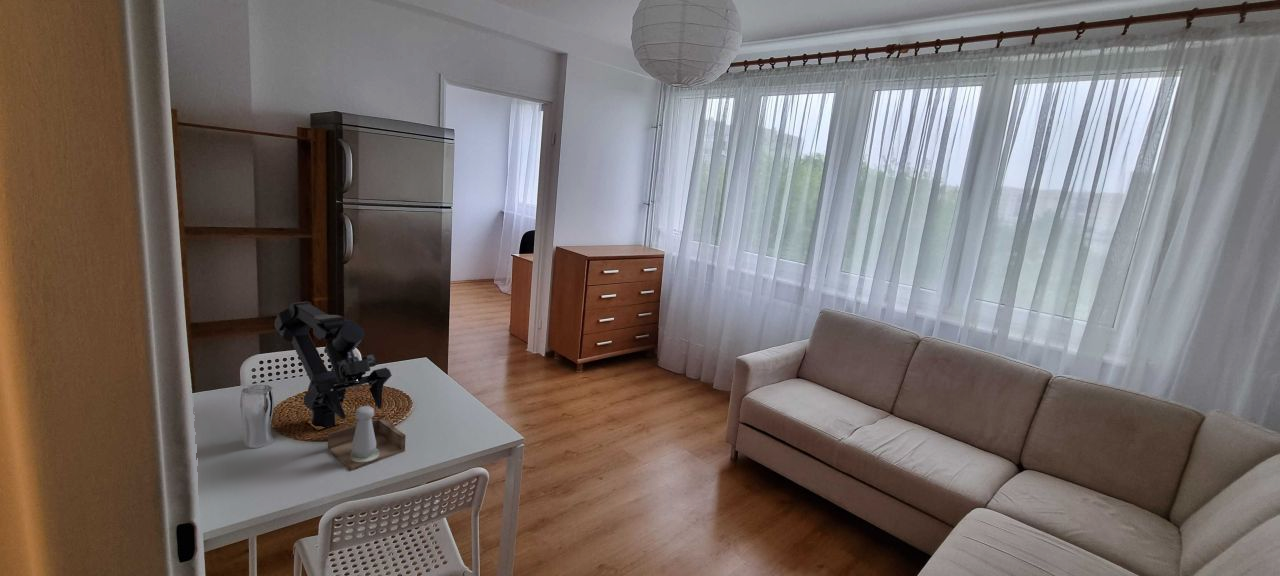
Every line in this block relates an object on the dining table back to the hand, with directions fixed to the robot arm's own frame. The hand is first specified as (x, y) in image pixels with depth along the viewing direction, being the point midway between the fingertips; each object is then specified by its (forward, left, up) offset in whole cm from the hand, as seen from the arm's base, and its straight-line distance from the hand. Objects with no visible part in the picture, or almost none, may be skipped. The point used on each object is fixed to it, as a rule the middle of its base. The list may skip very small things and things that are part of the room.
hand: (362, 413), depth 135 cm
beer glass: (-22, -16, -12) cm, 30 cm away
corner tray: (-2, +2, -12) cm, 12 cm away
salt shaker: (+1, 0, -11) cm, 11 cm away
